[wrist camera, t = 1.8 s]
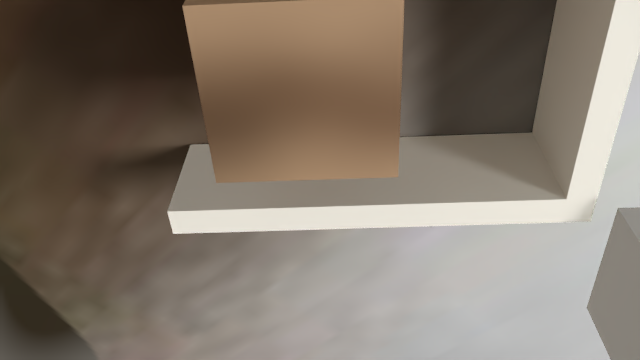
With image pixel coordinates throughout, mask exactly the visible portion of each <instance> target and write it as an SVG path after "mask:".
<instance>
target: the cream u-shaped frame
mask: <svg viewBox="0 0 640 360" xmlns="http://www.w3.org/2000/svg"><path fill="white" fill-rule="evenodd" d="M639 51H640V0H557V3H556V8H555V13H554V19H553V24H552V29H551V35H550V40H549V45H548V50H547V56H546V61H545V66H544V72H543V77H542V82H541V88H540V93H539V98H538V104H537V109H536V114H535V119H534V125H533V130H532V133H504V134H476V135H447V136H419V137H400V139H399V169H398V177H389V178H358V179H327V180H295V181H264V182H233V183H216V180H215V175H214V169H213V164H212V159H211V154H210V148H209V144H192V145H190V147H189V150H188V153H187V156H186V159H185V162H184V165H183V168H182V171H181V173H180V176H179V179H178V182H177V185H176V188H175V191H174V194H173V197H172V200H171V202H170V205H169V208H168V211H167V212H168V216H169V220H170V224H171V227H172V231H173V234H180V233H214V232H249V231H283V230H317V229H351V228H386V227H420V226H454V225H488V224H523V223H557V222H591V219H592V215H593V212H594V208H595V205H596V201H597V198H598V194H599V191H600V187H601V184H602V180H603V177H604V173H605V170H606V166H607V163H608V159H609V156H610V152H611V149H612V145H613V142H614V138H615V135H616V131H617V128H618V124H619V121H620V117H621V114H622V110H623V107H624V103H625V100H626V96H627V93H628V89H629V86H630V82H631V79H632V75H633V72H634V68H635V65H636V61H637V58H638V54H639Z"/></svg>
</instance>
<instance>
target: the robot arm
mask: <svg viewBox="0 0 640 360" xmlns="http://www.w3.org/2000/svg"><path fill="white" fill-rule="evenodd" d="M587 309H588V311H589V313H590V315H591V318H592V320H593V322H594V324H595V326H596V328H597V331H598V333H599V335H600V337H601V339H602V341H603V344H604V346H605V348H606V350H607V352H608V354H609V357H610V359H611V360H640V208H618V210H617V213H616V216H615V219H614V222H613V226H612V229H611V232H610V235H609V238H608V242H607V245H606V248H605V251H604V254H603V258H602V261H601V264H600V267H599V270H598V274H597V277H596V280H595V283H594V286H593V289H592V293H591V296H590V299H589V302H588V305H587Z"/></svg>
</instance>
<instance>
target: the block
mask: <svg viewBox="0 0 640 360" xmlns="http://www.w3.org/2000/svg"><path fill="white" fill-rule="evenodd" d="M182 7H183V12H184V17H185V23H186V28H187V33H188V38H189V44H190V49H191V54H192V59H193V64H194V70H195V75H196V80H197V85H198V91H199V96H200V101H201V106H202V112H203V117H204V122H205V127H206V133H207V138H208V143H209V148H210V154H211V159H212V164H213V169H214V175H215V180H216V183H233V182H264V181H295V180H327V179H358V178H389V177H398V169H399V139H400V110H401V81H402V52H403V23H404V0H185V2H184V4H183V5H182Z"/></svg>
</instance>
